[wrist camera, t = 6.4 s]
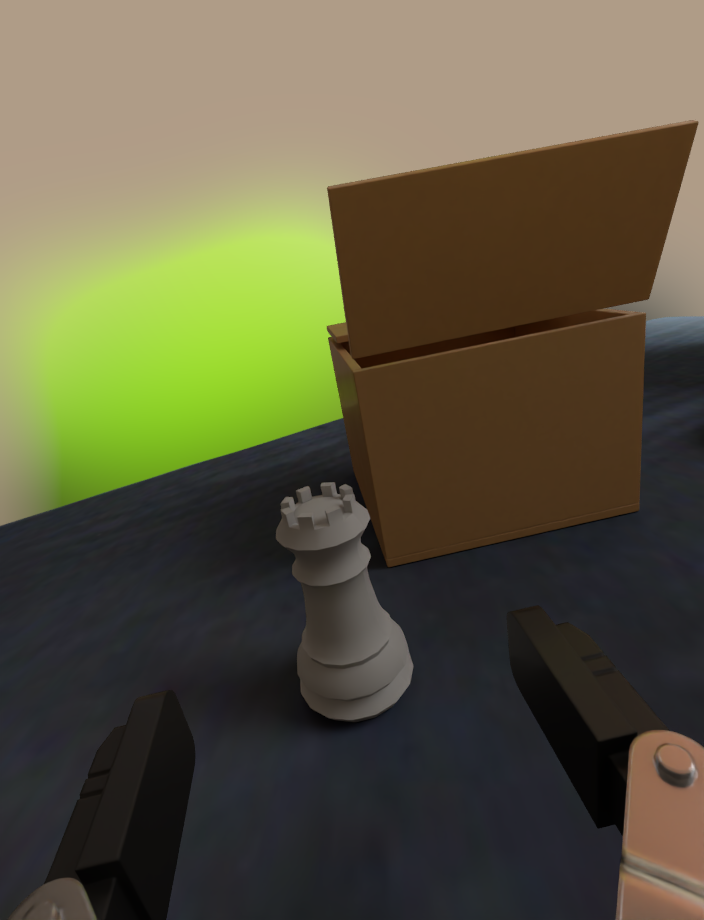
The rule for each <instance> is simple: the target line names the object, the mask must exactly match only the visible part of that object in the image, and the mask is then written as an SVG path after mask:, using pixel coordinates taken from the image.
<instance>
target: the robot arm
mask: <svg viewBox="0 0 704 920" xmlns="http://www.w3.org/2000/svg"><path fill="white" fill-rule="evenodd" d="M507 630H508V642H509V655H510V664H511V669H512V673H513V676H514V679H515V681H516V684H517V686H518V688H519V690H520V692H521V693H522V695H523V697H524V699H525V701H526V702H527V704H528V706H529V708H530V709H531V711H532V713H533V715H534V717H535V718H536V720H537V722H538V724H539V725H540V727H541V729H542V731H543V732H544V734H545V736H546V738H547V740H548V741H549V743H550V745H551V747H552V748H553V750H554V752H555V754H556V755H557V757H558V759H559V761H560V763H561V764H562V766H563V768H564V770H565V771H566V773H567V775H568V777H569V778H570V780H571V782H572V784H573V786H574V787H575V789H576V791H577V793H578V794H579V796H580V798H581V800H582V801H583V803H584V805H585V807H586V809H587V810H588V812H589V814H590V816H591V817H592V819H593V821H594V823H595V824H596V826H597V828H602V827H606V826H610V825H614V824H615V825H616V826H617V828H618V830H619V831H620V833H621V835H622V836H623V844H622V857H621V861H620V872H619V885H618V899H617V912H616V920H704V747H703V746H701V745H700V744H699V743H697V742H695V741H694V740H692V739H690V738H688V737H686V736H684V735H682V734H679V733H676V732H671V731H670V730H669V729H668V728H667V727H666V726H665V725H664V724H663V722H662V721H661V720H660V719H659V718H658V717H657V715H656V714H655V713H654V712H653V711H652V709H651V708H650V707H649V706H648V705H647V704H646V702H645V701H644V700H643V699H642V698H641V696H640V695H639V694H638V693H637V692H636V690H635V689H634V688H633V687H632V686H631V685H630V683H629V682H628V681H627V680H626V679H625V677H624V676H623V675H622V674H621V673H620V672H619V670H618V671H617V670H616V668H615V666H614V664H613V663H612V662H611V661H610V660H609V659H608V657H607V656H604V654H603V651H602V650H601V649H600V648H599V647H598V645H597V644H596V643H595V642H594V641H593V640H592V638H591V637H590V636H589V635H588V634H586V633H585V632H583V631H581V630H580V629H578V628H576V627H575V626H573V625H572V624H570V623H568V622H566V623H562V624H558V625H555V624H554V623H553V621H552V620H551V619H550V617H549V616H548V615H547V614H546V612H545V611H544V610H543V609H542V608H541V607H540V606H538V605H537V606H533V607H528V608H524V609H520V610H516V611H511V612H508V613H507ZM194 766H195V746H194V740H193V736H192V734H191V731H190V729H189V726H188V724H187V721H186V719H185V716H184V714H183V712H182V709H181V707H180V704H179V702H178V699H177V697H176V695H175V693H174V692H173V691H172V690H168V691H163V692H159V693H155V694H150V695H146V696H142V697H138V698H137V699H136V700H135V702H134V704H133V707H132V709H131V712H130V715H129V718H128V721H127V724H126V725H124V726H120V727H116V728H114V729H113V731H112V732H111V733H110V735H109V736H108V737H107V739H106V740H105V741H104V742H103V744H102V745H101V746H100V748H99V749H98V750H97V753H96V755H95V758H94V760H93V763H92V765H91V768H90V770H89V773H88V779H86V780H85V783H84V785H83V788H82V790H81V793H80V800H77V803H76V806H75V808H74V811H73V813H72V816H71V818H70V821H69V823H68V826H67V828H66V831H65V833H64V836H63V838H62V841H61V843H60V846H59V848H58V851H57V853H56V856H55V858H54V861H53V864H52V866H51V869H50V871H49V874H48V876H47V878H46V881H45V883H44V885H43V886H41V887H39V888H38V889H37V890H35V891H34V892H33V893H31V894H30V895H29V896H28V897H27V898H26V899H24V900H23V901H22V902H21V903H20V905H19V906H18V907H17V908H16V909H15V910H14V911H13V913H12V914H11V915H10V916H9V918H8V919H7V920H166V918H167V912H168V907H169V901H170V896H171V891H172V885H173V880H174V874H175V869H176V864H177V858H178V853H179V847H180V842H181V837H182V831H183V826H184V820H185V815H186V810H187V804H188V799H189V794H190V788H191V783H192V777H193V772H194Z"/></svg>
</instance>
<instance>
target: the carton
mask: <svg viewBox="0 0 704 920" xmlns="http://www.w3.org/2000/svg"><path fill="white" fill-rule="evenodd" d="M645 326H646V313H641V312H631V311H621V310H611V309H598V310H593V311H588V312H583V313H578V314H574V315H569V316H564V317H559V318H554V319H549V320H544V321H539V322H534V323H529V324H524V325H519V326H514V327H509V328H504V329H499V330H494V331H489V332H485V333H480V334H475V335H470V336H465V337H460V338H455V339H450V340H445V341H440V342H435V343H430V344H425V345H420V346H415V347H410V348H405V349H400V350H396V351H391V352H386V353H381V354H376V355H371V356H366V357H361V358H356V359H352V357H351V354H350V347H349V340H348V332H347V325H346V322H345V323H340V324H335V325H330V326H327V331H328V332H329V334H330V335H331V336H332V337H329V338H328V340H329V345H330V350H331V356H332V361H333V366H334V371H335V376H336V381H337V387H338V392H339V397H340V402H341V407H342V413H343V418H344V423H345V428H346V434H347V439H348V444H349V449H350V455H351V460H352V465H353V470H354V473H355V476H356V479H357V482H358V485H359V488H360V490H361V493H362V496H363V499H364V502H365V504H366V507H367V510H368V513H369V516H370V519H371V521H372V524H373V527H374V530H375V533H376V536H377V538H378V541H379V544H380V547H381V550H382V553H383V555H384V558H385V561H386V564H387V567H393V566H397V565H401V564H406V563H410V562H415V561H419V560H423V559H428V558H432V557H437V556H441V555H445V554H450V553H454V552H459V551H463V550H468V549H472V548H476V547H481V546H485V545H490V544H494V543H498V542H503V541H507V540H512V539H516V538H521V537H525V536H529V535H534V534H538V533H543V532H547V531H551V530H556V529H560V528H565V527H569V526H574V525H578V524H582V523H587V522H591V521H596V520H600V519H604V518H609V517H613V516H618V515H622V514H626V513H631V512H635V511H639V494H640V466H641V438H642V410H643V382H644V354H645Z"/></svg>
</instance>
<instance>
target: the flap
mask: <svg viewBox="0 0 704 920" xmlns="http://www.w3.org/2000/svg"><path fill="white" fill-rule="evenodd" d="M697 126H698V121H694V120H690V121H685V122H680V123H674V124H668V125H663V126H657V127H652V128H646V129H641V130H635V131H630V132H624V133H619V134H613V135H608V136H602V137H597V138H592V139H586V140H580V141H575V142H569V143H564V144H558V145H553V146H548V147H542V148H537V149H532V150H526V151H521V152H515V153H510V154H504V155H499V156H493V157H487V158H483V159H476V160H471V161H465V162H460V163H454V164H449V165H443V166H438V167H432V168H427V169H422V170H416V171H410V172H405V173H399V174H394V175H389V176H383V177H378V178H372V179H367V180H361V181H356V182H350V183H345V184H339V185H334V186H328V188H327V190H328V197H329V204H330V211H331V219H332V225H333V232H334V240H335V247H336V254H337V261H338V268H339V275H340V283H341V289H342V297H343V303H344V311H345V318H346V325H347V332H348V340H349V347H350V354H351V357H352V359H356V358H361V357H366V356H371V355H376V354H381V353H386V352H391V351H396V350H400V349H405V348H410V347H415V346H420V345H425V344H430V343H435V342H440V341H445V340H450V339H455V338H460V337H465V336H470V335H475V334H480V333H485V332H489V331H494V330H499V329H504V328H509V327H514V326H519V325H524V324H529V323H534V322H539V321H544V320H549V319H554V318H559V317H564V316H569V315H574V314H578V313H583V312H588V311H593V310H598V309H603V308H608V307H613V306H618V305H623V304H628V303H633V302H637V301H643V300H647V299H649V297H650V293H651V290H652V286H653V283H654V279H655V276H656V272H657V268H658V265H659V261H660V258H661V254H662V251H663V247H664V243H665V240H666V236H667V233H668V229H669V226H670V222H671V219H672V215H673V211H674V208H675V204H676V201H677V197H678V193H679V190H680V187H681V183H682V180H683V176H684V172H685V169H686V165H687V162H688V158H689V155H690V151H691V147H692V144H693V140H694V137H695V133H696V130H697Z"/></svg>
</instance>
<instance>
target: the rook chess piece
mask: <svg viewBox="0 0 704 920" xmlns="http://www.w3.org/2000/svg"><path fill="white" fill-rule="evenodd" d="M339 489H340V494H337V491H336V486H335V482H330V483H322V484H321V490H322V495H319V496H314V497H312V495H311V491H310V488H309V486H306V487H304V488H301V489H299V490H296V494H297V498H298V503H296V504H294V500H293V497H285V499H284V500H283V501H282V502H281V508H282V510H280V511H281V514H282V519H281V521H280V523H279V525H278V527H277V529H276V540H277V541H278V542H279V543H280V544H281V545H282V546H283V547H285V548H286V549H288V550H289V551H291V552H292V553H294V555H295V557H296V560H295V562H294V563H293V565H292V575H293V576H294V577H295V578H296V579H297V580H298V581H299V582H301V586H302V590H303V594H304V599H305V609H306V627H305V629H304V631H303V633H302V642H301V644H300V646H299V648H298V651H297V674H298V676H299V677H300V687H301V694H302V696H303V697H304V699H305V700H306V702H307V703H308V705H309V707H310V708H311V709H313V710H315V711H317V712H319V713H320V714H322V715H324V716H326V717H328V718H330V719H333V720H337V721H346V722H359V721H363V720H367V719H371V718H375V717H377V716H378V715H380V714H382V713H383V712H385V711H386V710H388V709H389V708H391V707H393V705H394V704H395V703H396V702H397V701H398V699H399V698H400V697H401V695H402V694H403V693H404V691H405V690H406V689H407V687H408V686H409V685H410V681H411V676H412V671H413V663H412V660H411V657H410V654H409V651H408V645H407V642H406V639H405V636H404V633H403V631H402V630H401V628H400V626H399V625H398V624H397V623H395V622H394V621H393V620H392V619H391V618H390V615H389V614H388V613H387V612H386V611H385V610H384V609H383V608H382V607H381V606H380V604H379V603H378V601H377V598H376V595H375V593H374V590H373V587H372V584H371V582H370V579H369V575H368V570H367V565H368V563H369V560H370V558H371V555H370V552H369V549H368V548H367V547H366V546H364V545H363V544H362V543H361V536H362V534H363V532H364V530H365V529H366V526H367V524H368V522H369V520H370V516H369V513H368V510H367V509H366V508H364V507H363V506H362V505H360V504H359V503H358V502H357V501H355V496H354V494H353V489H352V488H351V487H350V486H348V485H346V484H344V485H342V486H341V487H339Z"/></svg>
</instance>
